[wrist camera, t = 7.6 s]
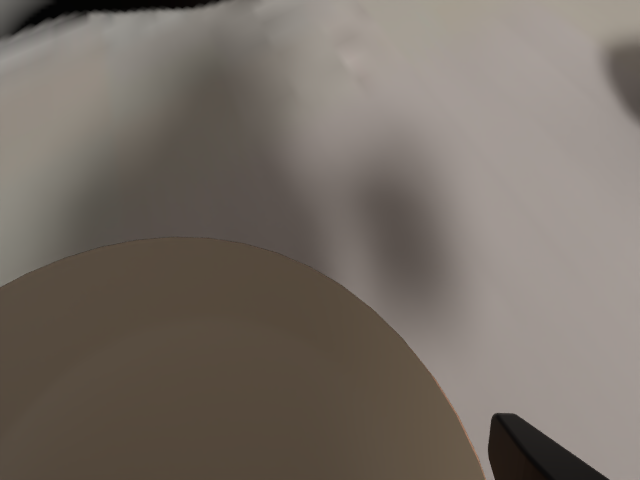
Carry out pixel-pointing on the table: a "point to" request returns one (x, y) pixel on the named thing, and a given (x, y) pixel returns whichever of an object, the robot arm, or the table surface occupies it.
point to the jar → (212, 373)
